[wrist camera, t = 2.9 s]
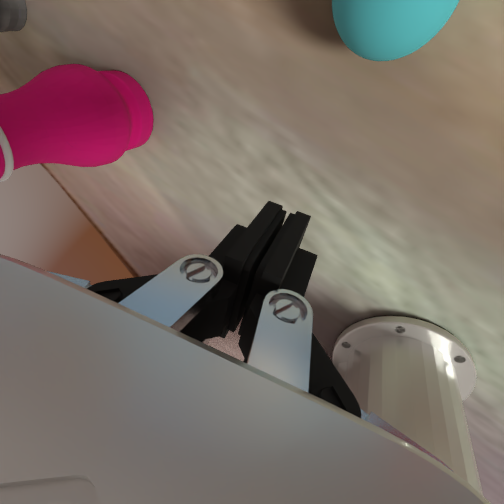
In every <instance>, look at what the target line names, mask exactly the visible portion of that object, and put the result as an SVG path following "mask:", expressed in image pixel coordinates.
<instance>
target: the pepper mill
mask: <svg viewBox="0 0 504 504" xmlns="http://www.w3.org/2000/svg"><path fill="white" fill-rule="evenodd" d="M152 129H153V111H152V108H151V104H150V101H149V99H148V97H147V95H146V93H145V91H144V90H143V89H142V87H141V86H140V85H139V83H138V82H137V81H136V80H135V79H133V78H132V77H131V76H129V75H128V74H126V73H124V72H121V71H116V70H114V71H96V70H94V69H92V68H90V67H87V66H84V65H80V64H67V65H58V66H55V67H52V68H50V69H47V70H45V71H43V72H41V73H40V74H38V75H37V76H36V77H34V78H33V79H32V80H31V81H29V82H28V83H26V84H25V85H23V86H22V87H20V88H18V89H16V90H14V91H12V92H9V93H5V94H0V182H3V181H5V180H7V179H8V178H9V177H10V176H11V175H12V172H13V170H15V169H17V168H20V167H23V166H27V165H32V164H38V163H58V164H66V165H73V166H79V167H96V166H101V165H105V164H109V163H112V162H114V161H116V160H118V159H119V158H120V157H121V156H122V155H123V154H124V152H125V151H127V150H130V149H133V148H136V147H139V146H141V145H143V144H144V143H145V142H146V141H147V140H148V139H149V137H150V135H151V132H152Z"/></svg>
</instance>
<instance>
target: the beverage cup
mask: <svg viewBox="0 0 504 504" xmlns="http://www.w3.org/2000/svg"><path fill="white" fill-rule="evenodd" d="M26 19H27V9H26V3H25V0H0V32H3V31H18V30H21V29H22V28H23V27H24V25H25V22H26Z"/></svg>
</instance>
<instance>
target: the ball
mask: <svg viewBox="0 0 504 504" xmlns="http://www.w3.org/2000/svg"><path fill="white" fill-rule="evenodd" d="M458 2H459V0H332V11H333V18H334V22H335V26H336V28H337V31H338V33H339V35H340V37H341V39H342V40H343V42H344V43H345V44H346V46H347V47H348V48H349V49H350V50H351V51H353V52H354V53H355V54H357V55H359V56H361V57H363V58H365V59H369V60H373V61H389V60H395V59H398V58H401V57H404V56H406V55H408V54H411V53H412V52H414V51H416V50H418V49H419V48H421V47H422V46H423V45H425V44H426V43H427V42H428V41H429V40H431V39H432V38H433V37H434V36H435V35H436V34H437V33H438V32H439V31H440V29H441V28H442V27H443V26H444V24H445V23H446V22H447V21H448V19H449V18H450V16H451V15H452V13H453V11H454V10H455V8H456V6H457V4H458Z"/></svg>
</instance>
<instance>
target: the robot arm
mask: <svg viewBox="0 0 504 504" xmlns="http://www.w3.org/2000/svg"><path fill="white" fill-rule="evenodd" d="M285 215H286V211H284V210H282V205H279V204H276V203H274V202H271V201H268V202H267V204H266V205H265V206H264V207H263V209H262V210H261V211H260V212H259V214H258V215H257V216H256V217H255V219H254V220H253V221H252V222H251V224H250V225H249V226H248V227H247V228H246V227H244V226H241V225H238V224H237V225H236V226H235V227H234V228H233V229H232V230H231V231H230V232H229V234H228V235H227V236H226V237H225V238H224V239H223V240H222V242H221V243H220V244H219V245H218V246H217V247H216V248H215V250H214V251H213V252H212V253H211V254H210V255H209V256H206V255H200V254H193V255H188V256H185V257H183V258H181V259H179V260H178V261H177V262H175V263H174V264H172V265H171V266H170V267H168V268H167V269H165V270H164V271H163V272H161V273H160V274H157V275H150V276H142V277H135V278H127V279H119V280H112V281H105V282H100V283H96V284H94V285H90V281H87V280H82V279H78V278H74V277H70V276H66V275H61V274H57V273H53V272H48V271H45V270H43V269H40V268H38V267H35V266H33V265H30V264H28V263H25V262H22V261H20V260H17V259H14V258H11V257H8V256H5V255H1V254H0V504H491V503H490V502H489V501H488V500H487V499H486V498H484V497H483V493H482V488H481V484H480V479H479V475H478V470H477V466H476V461H475V457H474V453H473V448H472V444H471V439H470V435H469V430H468V426H467V421H466V417H465V412H464V408H463V403H462V402H463V401H464V400H465V399H466V398H467V397H468V396H469V395H470V394H471V393H472V391H473V389H474V388H475V384H476V380H477V375H476V368H475V365H474V362H473V359H472V356H471V354H470V353H469V351H468V350H467V348H466V347H465V346H464V345H463V344H462V343H461V342H460V341H459V340H458V339H457V338H456V337H455V336H453V335H452V334H450V333H449V332H448V331H446V330H444V329H442V328H440V327H438V326H436V325H434V324H431V323H428V322H425V321H422V320H419V319H414V318H408V317H401V316H382V317H373V318H369V319H365V320H362V321H359V322H357V323H355V324H352V325H351V326H350V327H348V328H347V329H345V330H344V331H343V332H342V333H341V334H340V335H339V337H338V339H337V341H336V342H335V346H334V350H333V363H332V361H331V360H330V358H329V357H328V355H327V354H326V352H325V351H324V349H323V348H322V346H321V345H320V343H319V342H318V340H317V339H316V337H315V336H314V334H313V333H312V322H313V312H312V308H311V306H310V304H309V302H308V301H307V300H306V299H305V298H304V295H305V292H306V289H307V286H308V283H309V280H310V277H311V274H312V271H313V268H314V265H315V262H316V259H317V255H316V254H313V253H311V252H308V251H305V250H303V249H300V248H299V247H300V244H301V241H302V239H303V236H304V233H305V231H306V228H307V225H308V223H309V220H310V217H311V216H309V215H306V214H304V213H301V212H298V211H297V212H296V214H292V213H290V214H289V216H288V218H287V219H286V221H285V223H284V224H283V222H284V218H285ZM282 225H283V226H282ZM242 317H243V319H242ZM241 319H242V322H241V326H240V329H239V333H238V334H239V335H241V337H240V340H239V343H238V344H239V347H240V349H241V351H242V353H243V356H244V361H243V362H242V361H240V360H238V359H236V358H234V357H232V356H230V355H228V354H225V353H223V352H221V351H219V350H217V349H215V348H213V347H211V346H208V343H209V341H210V338H213V337H218V336H220V337H222V338H225V336H226V335H227V333H228V331H229V330H230V331H232V332H234V331H235V330H236V328H237V326H238V324H239V322H240V321H241Z"/></svg>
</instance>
